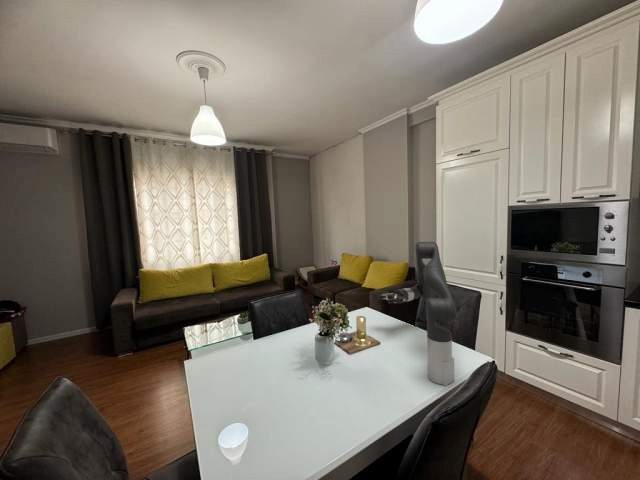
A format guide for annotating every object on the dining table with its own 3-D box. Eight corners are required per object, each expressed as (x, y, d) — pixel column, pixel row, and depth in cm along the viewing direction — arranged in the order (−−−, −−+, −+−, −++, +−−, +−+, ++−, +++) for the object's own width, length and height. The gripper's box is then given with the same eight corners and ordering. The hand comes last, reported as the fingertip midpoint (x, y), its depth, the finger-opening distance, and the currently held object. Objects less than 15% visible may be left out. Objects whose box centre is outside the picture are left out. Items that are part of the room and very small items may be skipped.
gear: (355, 340, 139) (355, 334, 139) (342, 345, 134) (341, 338, 134) (345, 334, 147) (345, 328, 147) (332, 338, 143) (332, 331, 143)
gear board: (380, 344, 137) (380, 341, 137) (349, 354, 127) (349, 352, 127) (359, 332, 152) (359, 330, 152) (330, 340, 143) (330, 338, 142)
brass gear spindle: (374, 342, 136) (373, 318, 135) (360, 347, 131) (359, 322, 131) (362, 335, 145) (362, 313, 144) (348, 340, 140) (348, 316, 139)
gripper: (394, 286, 154) (373, 290, 146) (413, 291, 142) (392, 295, 134) (394, 299, 154) (374, 303, 146) (414, 304, 142) (392, 310, 134)
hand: (382, 299), depth 140 cm, fingers open, 8 cm apart
